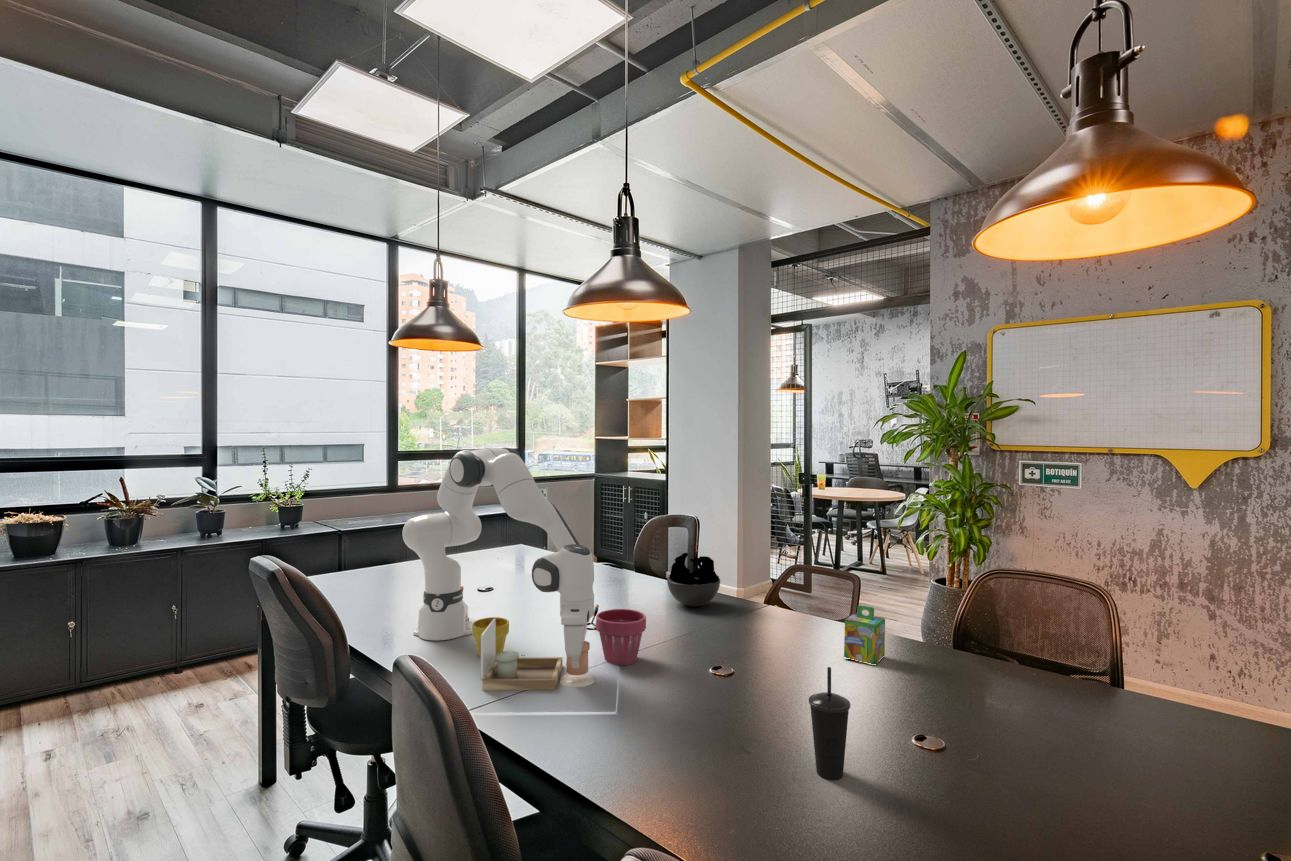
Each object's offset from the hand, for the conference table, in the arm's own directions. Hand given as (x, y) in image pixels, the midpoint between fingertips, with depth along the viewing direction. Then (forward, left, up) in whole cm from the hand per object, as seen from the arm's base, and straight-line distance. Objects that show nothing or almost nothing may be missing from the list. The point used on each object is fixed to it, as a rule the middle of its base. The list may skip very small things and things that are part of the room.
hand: (577, 661), depth 161 cm
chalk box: (-16, +81, -6) cm, 83 cm away
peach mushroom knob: (0, 0, -2) cm, 2 cm away
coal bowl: (-72, +37, -6) cm, 81 cm away
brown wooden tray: (-2, -14, -5) cm, 15 cm away
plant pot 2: (-16, +11, -6) cm, 20 cm away
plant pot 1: (-20, -27, -6) cm, 34 cm away
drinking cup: (+44, +52, -6) cm, 68 cm away
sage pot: (-2, -19, -5) cm, 19 cm away
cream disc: (0, 0, -5) cm, 5 cm away
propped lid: (-2, -23, -3) cm, 23 cm away
